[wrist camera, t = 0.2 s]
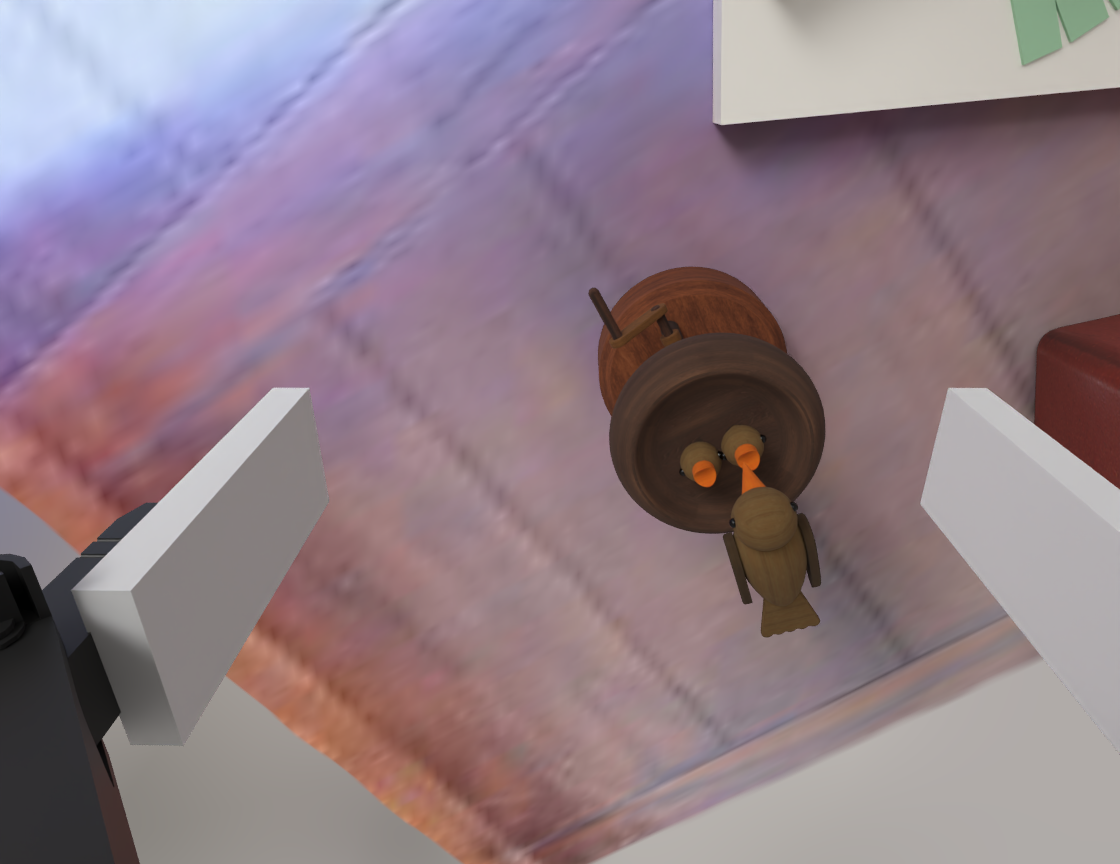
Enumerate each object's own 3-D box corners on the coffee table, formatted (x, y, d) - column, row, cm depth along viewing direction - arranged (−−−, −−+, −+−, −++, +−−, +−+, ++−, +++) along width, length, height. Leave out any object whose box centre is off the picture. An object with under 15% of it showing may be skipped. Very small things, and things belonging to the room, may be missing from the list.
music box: (829, 383, 44) (956, 618, 26) (676, 471, 48) (698, 725, 30) (689, 173, 39) (732, 291, 21) (531, 291, 43) (457, 472, 25)
